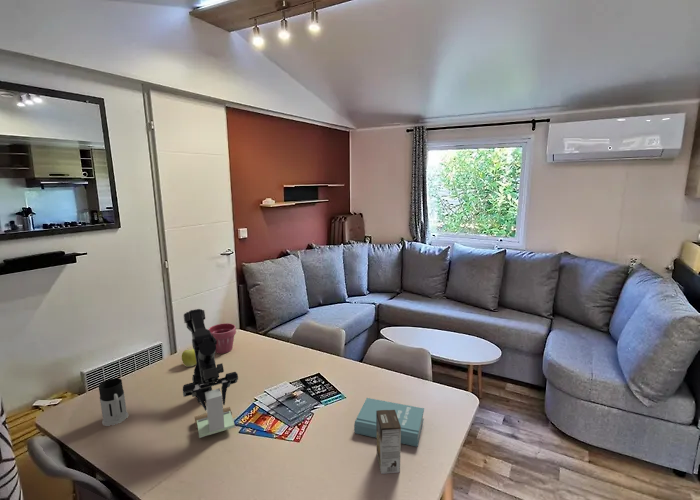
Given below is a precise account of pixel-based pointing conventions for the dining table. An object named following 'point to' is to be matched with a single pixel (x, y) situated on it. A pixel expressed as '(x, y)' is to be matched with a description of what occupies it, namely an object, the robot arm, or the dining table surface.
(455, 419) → the dining table surface
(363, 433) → the book
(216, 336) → the plant pot
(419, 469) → the dining table surface
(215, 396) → the block
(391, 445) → the coffee box
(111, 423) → the glass holder
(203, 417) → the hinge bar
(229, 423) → the trapdoor
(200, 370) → the robot arm
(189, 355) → the apple
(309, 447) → the dining table surface
